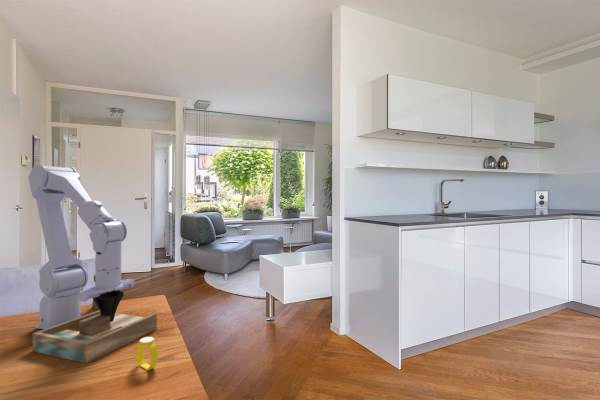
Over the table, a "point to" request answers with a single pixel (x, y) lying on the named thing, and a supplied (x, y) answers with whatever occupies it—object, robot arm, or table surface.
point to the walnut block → (94, 325)
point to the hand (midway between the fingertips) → (108, 321)
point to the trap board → (91, 337)
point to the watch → (153, 352)
